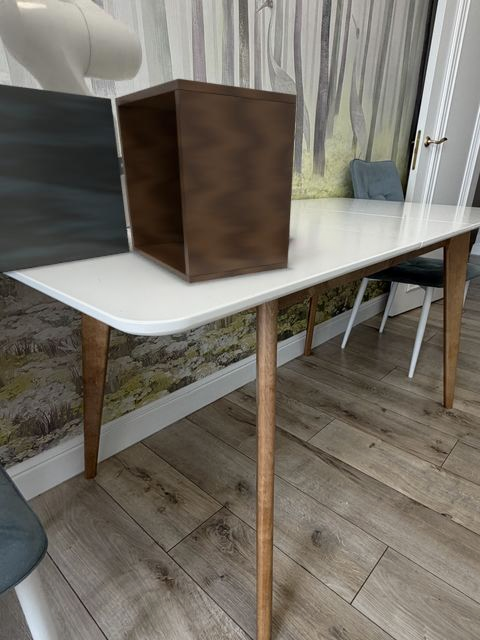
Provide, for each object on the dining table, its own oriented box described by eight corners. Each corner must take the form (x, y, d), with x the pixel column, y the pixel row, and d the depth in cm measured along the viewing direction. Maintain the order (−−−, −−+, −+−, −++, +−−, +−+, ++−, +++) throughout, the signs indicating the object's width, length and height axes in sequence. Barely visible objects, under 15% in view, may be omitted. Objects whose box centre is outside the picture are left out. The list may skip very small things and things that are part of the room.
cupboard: (189, 284, 50) (177, 78, 41) (132, 251, 66) (114, 98, 57) (287, 268, 59) (297, 94, 49) (216, 242, 75) (212, 108, 65)
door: (-38, 266, 55) (-97, 79, 45) (108, 245, 70) (88, 101, 60) (-22, 276, 51) (-83, 73, 41) (129, 251, 66) (111, 98, 56)
